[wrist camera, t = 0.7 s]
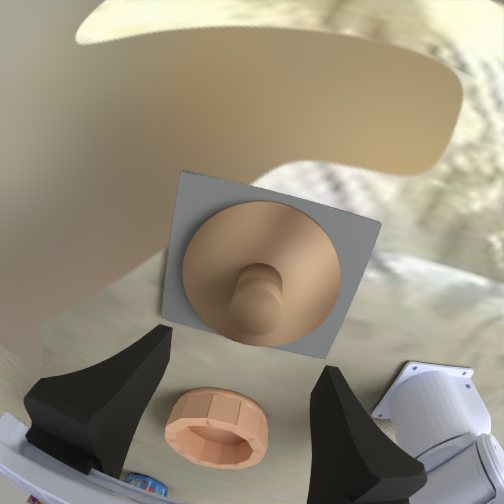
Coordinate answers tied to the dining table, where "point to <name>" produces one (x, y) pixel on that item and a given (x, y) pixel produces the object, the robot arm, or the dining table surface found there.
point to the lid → (261, 273)
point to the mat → (229, 193)
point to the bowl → (218, 429)
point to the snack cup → (146, 484)
